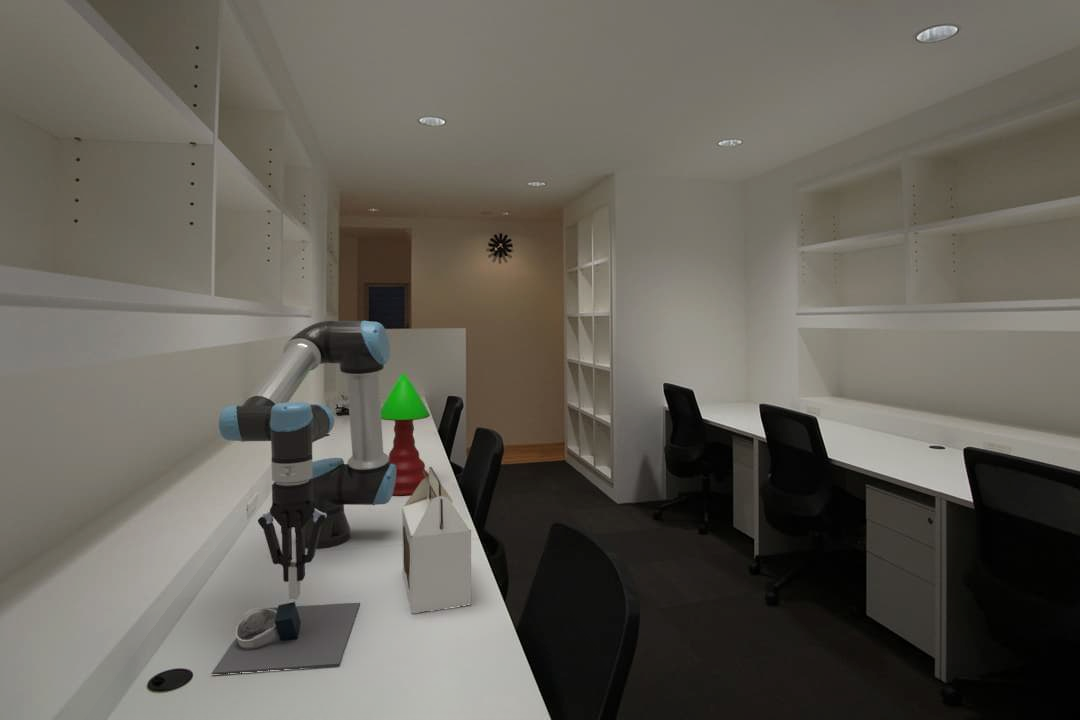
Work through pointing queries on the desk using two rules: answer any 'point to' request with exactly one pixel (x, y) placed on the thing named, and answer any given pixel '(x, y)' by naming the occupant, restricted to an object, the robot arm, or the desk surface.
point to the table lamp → (405, 435)
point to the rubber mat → (297, 642)
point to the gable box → (435, 549)
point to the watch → (284, 626)
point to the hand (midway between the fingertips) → (294, 596)
